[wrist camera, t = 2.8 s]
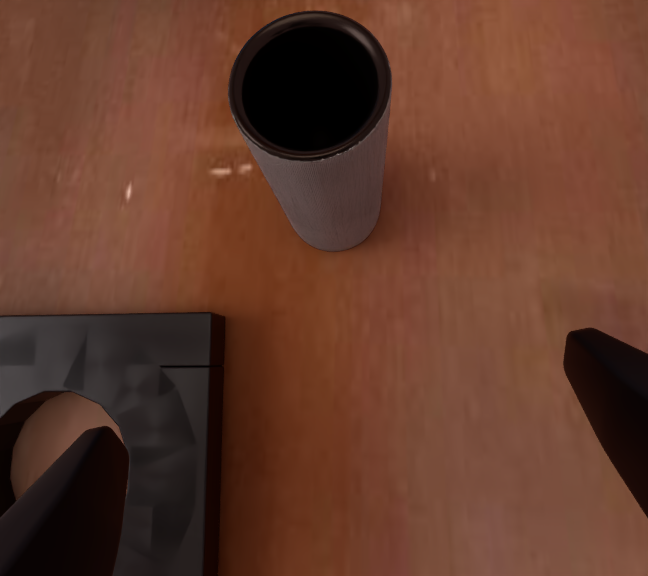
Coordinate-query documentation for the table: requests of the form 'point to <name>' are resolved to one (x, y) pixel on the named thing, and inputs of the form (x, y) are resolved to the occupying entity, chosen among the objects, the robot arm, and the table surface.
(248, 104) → the planter
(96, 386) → the plant stand
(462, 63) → the table surface
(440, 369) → the table surface
